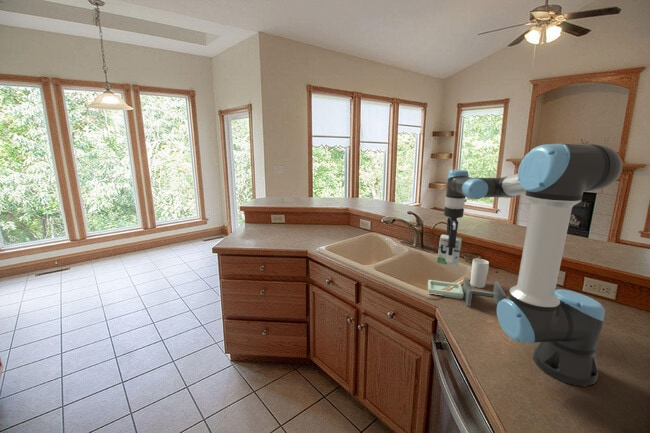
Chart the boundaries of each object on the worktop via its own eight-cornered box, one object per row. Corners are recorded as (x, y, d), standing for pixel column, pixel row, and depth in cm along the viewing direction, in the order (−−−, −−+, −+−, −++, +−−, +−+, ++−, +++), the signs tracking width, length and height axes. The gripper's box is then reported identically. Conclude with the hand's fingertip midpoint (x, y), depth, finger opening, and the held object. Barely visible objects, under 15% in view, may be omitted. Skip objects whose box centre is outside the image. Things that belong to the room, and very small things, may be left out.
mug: (479, 289, 138) (482, 265, 135) (466, 283, 144) (469, 260, 141) (492, 284, 143) (496, 261, 140) (479, 279, 149) (483, 256, 146)
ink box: (436, 262, 132) (439, 237, 130) (438, 259, 137) (440, 234, 134) (458, 266, 128) (461, 240, 126) (458, 262, 133) (462, 237, 130)
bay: (503, 311, 120) (506, 295, 118) (467, 306, 123) (469, 290, 122) (495, 296, 132) (497, 281, 131) (462, 291, 136) (464, 277, 134)
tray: (462, 299, 129) (463, 293, 129) (428, 294, 133) (429, 289, 132) (459, 288, 139) (460, 283, 138) (427, 284, 142) (428, 279, 142)
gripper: (467, 212, 117) (460, 268, 122) (460, 203, 134) (454, 252, 140) (446, 211, 119) (440, 265, 125) (442, 202, 136) (437, 251, 142)
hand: (448, 258), depth 132 cm, fingers closed on ink box, 6 cm apart
